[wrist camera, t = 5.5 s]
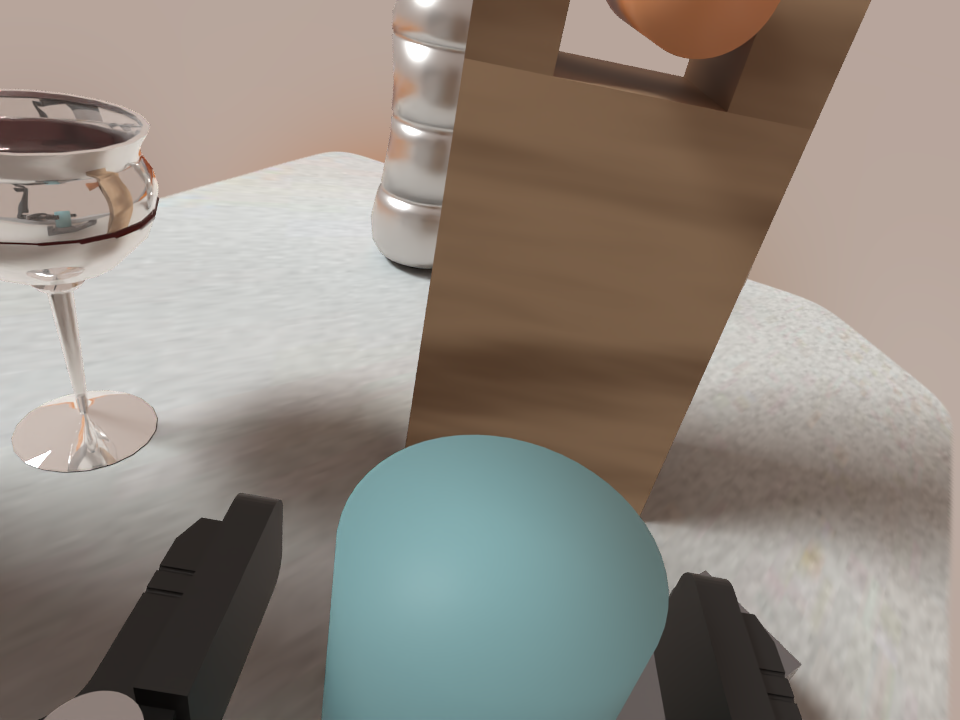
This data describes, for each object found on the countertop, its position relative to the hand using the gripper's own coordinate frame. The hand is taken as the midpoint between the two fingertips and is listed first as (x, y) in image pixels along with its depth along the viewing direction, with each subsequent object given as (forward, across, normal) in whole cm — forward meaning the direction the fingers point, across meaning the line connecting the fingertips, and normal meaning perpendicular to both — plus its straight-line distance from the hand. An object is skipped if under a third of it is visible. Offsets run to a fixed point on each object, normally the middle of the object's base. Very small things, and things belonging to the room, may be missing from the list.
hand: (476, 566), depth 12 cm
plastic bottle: (+33, +5, +9) cm, 34 cm away
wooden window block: (+14, -3, +9) cm, 17 cm away
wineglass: (+11, +15, +9) cm, 21 cm away
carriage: (-2, 0, +7) cm, 7 cm away
